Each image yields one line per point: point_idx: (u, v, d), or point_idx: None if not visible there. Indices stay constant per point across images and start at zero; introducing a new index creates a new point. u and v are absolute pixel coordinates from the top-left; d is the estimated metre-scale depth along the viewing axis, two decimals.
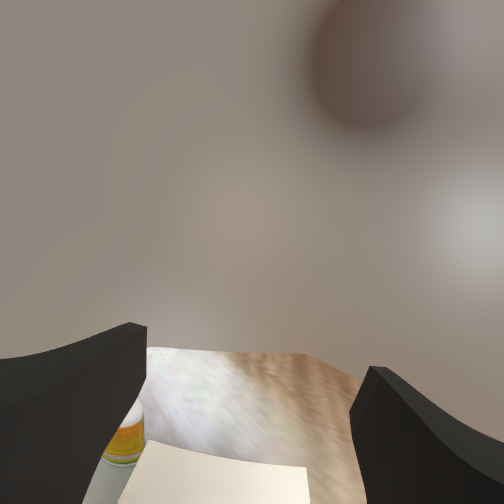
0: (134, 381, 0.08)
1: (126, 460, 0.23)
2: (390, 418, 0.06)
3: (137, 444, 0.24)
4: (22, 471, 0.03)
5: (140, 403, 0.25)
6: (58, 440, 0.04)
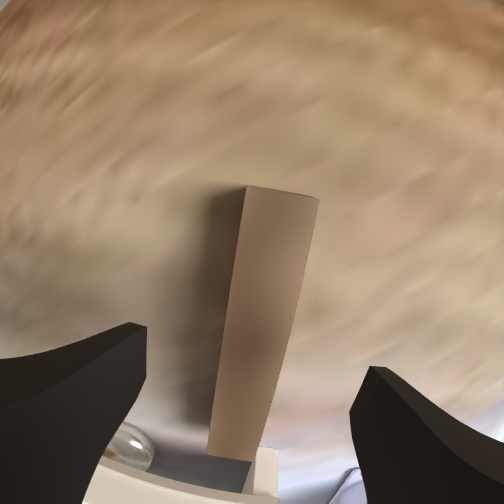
0: (134, 381, 0.08)
1: None
2: (390, 418, 0.06)
3: None
4: (22, 471, 0.03)
5: None
6: (58, 440, 0.04)
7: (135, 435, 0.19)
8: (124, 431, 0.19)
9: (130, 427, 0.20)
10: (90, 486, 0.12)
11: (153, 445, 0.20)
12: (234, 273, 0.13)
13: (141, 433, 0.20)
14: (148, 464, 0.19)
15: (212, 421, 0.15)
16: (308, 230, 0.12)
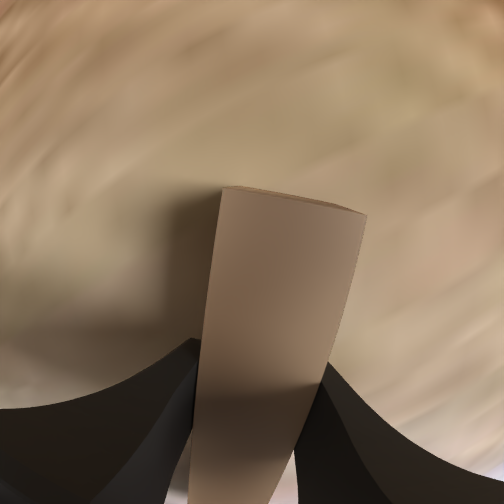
0: None
1: None
2: (318, 415, 0.07)
3: None
4: None
5: None
6: (151, 478, 0.04)
7: None
8: None
9: None
10: None
11: None
12: (203, 350, 0.07)
13: None
14: None
15: None
16: (344, 276, 0.06)
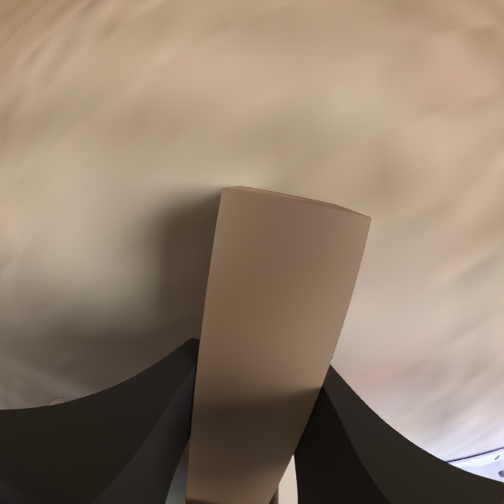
0: None
1: None
2: (317, 415, 0.07)
3: None
4: None
5: None
6: (153, 478, 0.04)
7: None
8: None
9: None
10: None
11: None
12: (201, 354, 0.07)
13: None
14: None
15: None
16: (347, 280, 0.06)
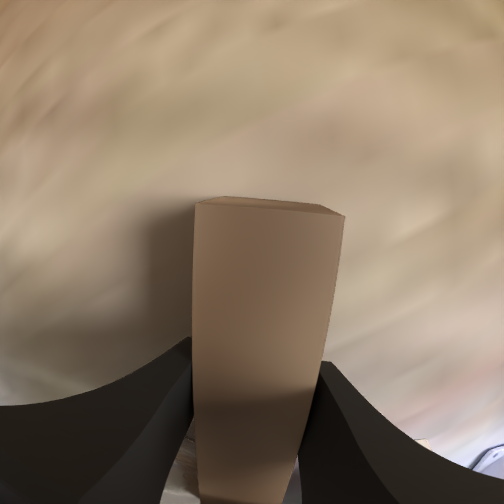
0: None
1: None
2: (322, 416, 0.06)
3: None
4: None
5: None
6: (146, 476, 0.04)
7: (188, 456, 0.11)
8: None
9: None
10: None
11: None
12: (195, 363, 0.07)
13: None
14: None
15: None
16: (327, 280, 0.06)
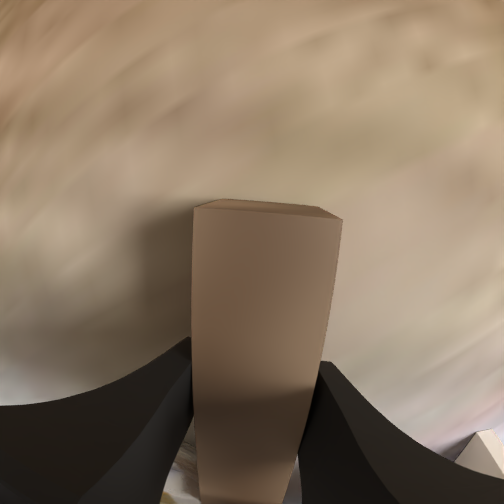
0: None
1: None
2: (322, 416, 0.06)
3: None
4: None
5: None
6: (146, 476, 0.04)
7: (185, 458, 0.12)
8: None
9: None
10: None
11: None
12: (195, 366, 0.07)
13: (194, 454, 0.12)
14: None
15: None
16: (325, 283, 0.06)
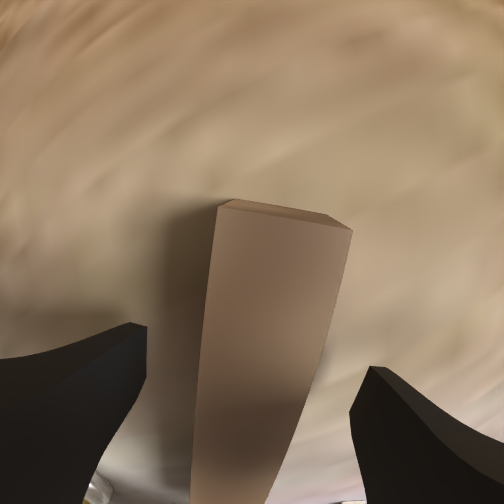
0: (134, 381, 0.08)
1: None
2: (390, 418, 0.06)
3: None
4: (22, 471, 0.03)
5: None
6: (58, 440, 0.04)
7: None
8: None
9: None
10: None
11: (107, 484, 0.14)
12: (202, 355, 0.07)
13: None
14: None
15: None
16: (331, 286, 0.07)
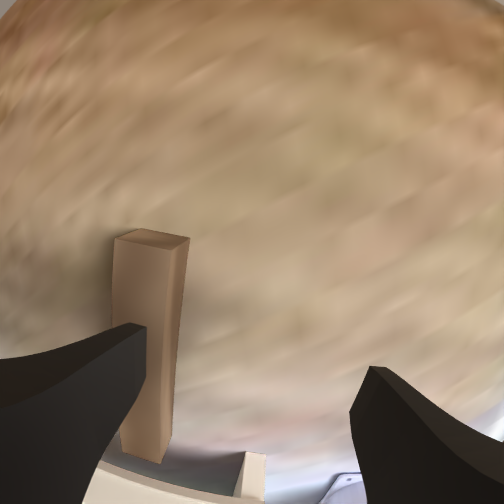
0: (134, 381, 0.08)
1: None
2: (390, 418, 0.06)
3: None
4: (22, 471, 0.03)
5: None
6: (58, 440, 0.04)
7: None
8: None
9: None
10: (89, 488, 0.13)
11: None
12: (112, 308, 0.14)
13: None
14: None
15: None
16: (164, 277, 0.14)
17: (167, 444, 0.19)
